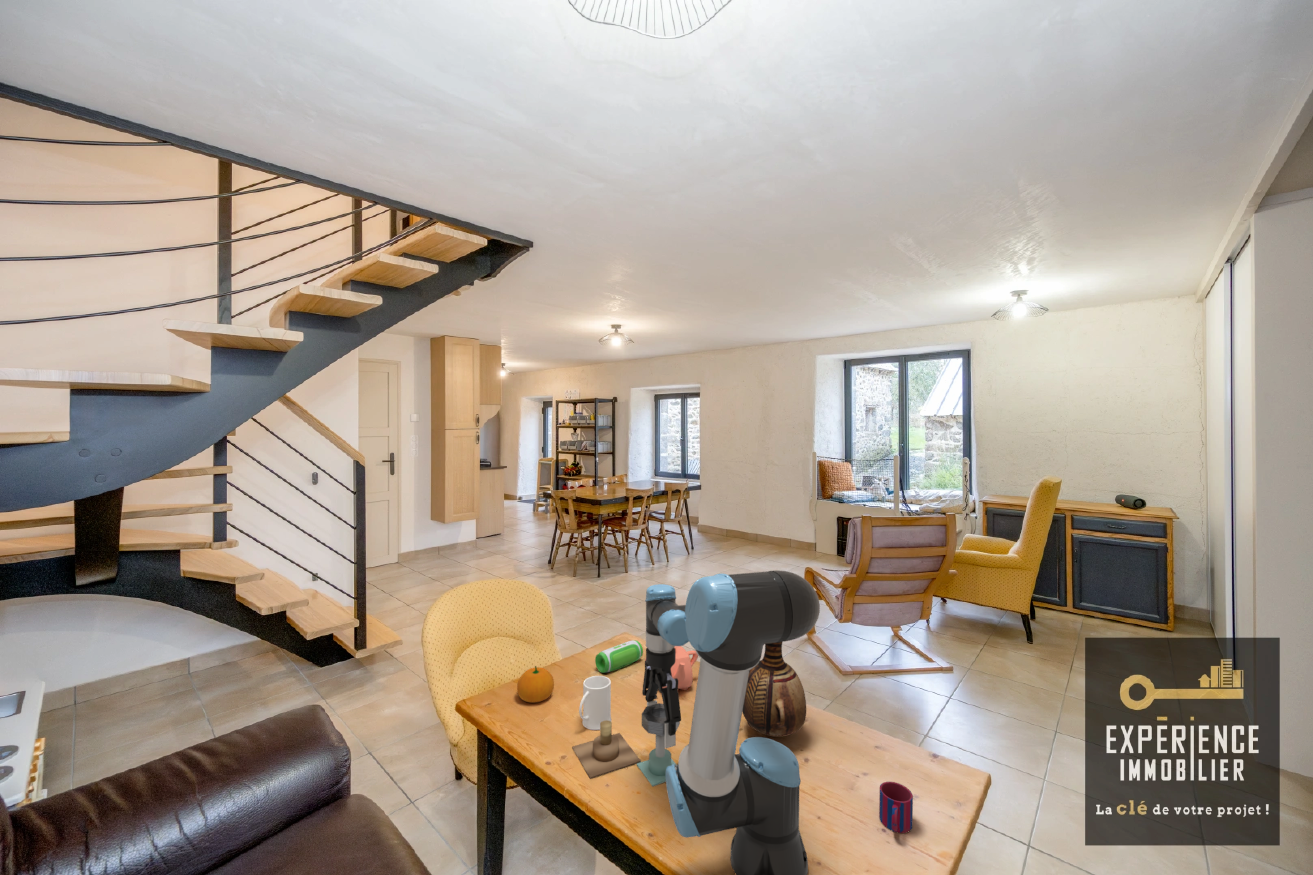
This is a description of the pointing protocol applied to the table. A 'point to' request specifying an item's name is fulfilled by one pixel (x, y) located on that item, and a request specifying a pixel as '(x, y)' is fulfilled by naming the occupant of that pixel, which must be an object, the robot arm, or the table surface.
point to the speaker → (618, 656)
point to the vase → (774, 695)
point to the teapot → (683, 667)
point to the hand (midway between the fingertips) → (660, 736)
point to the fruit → (535, 685)
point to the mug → (595, 702)
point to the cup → (896, 807)
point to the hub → (605, 752)
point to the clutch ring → (655, 719)
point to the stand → (657, 763)
